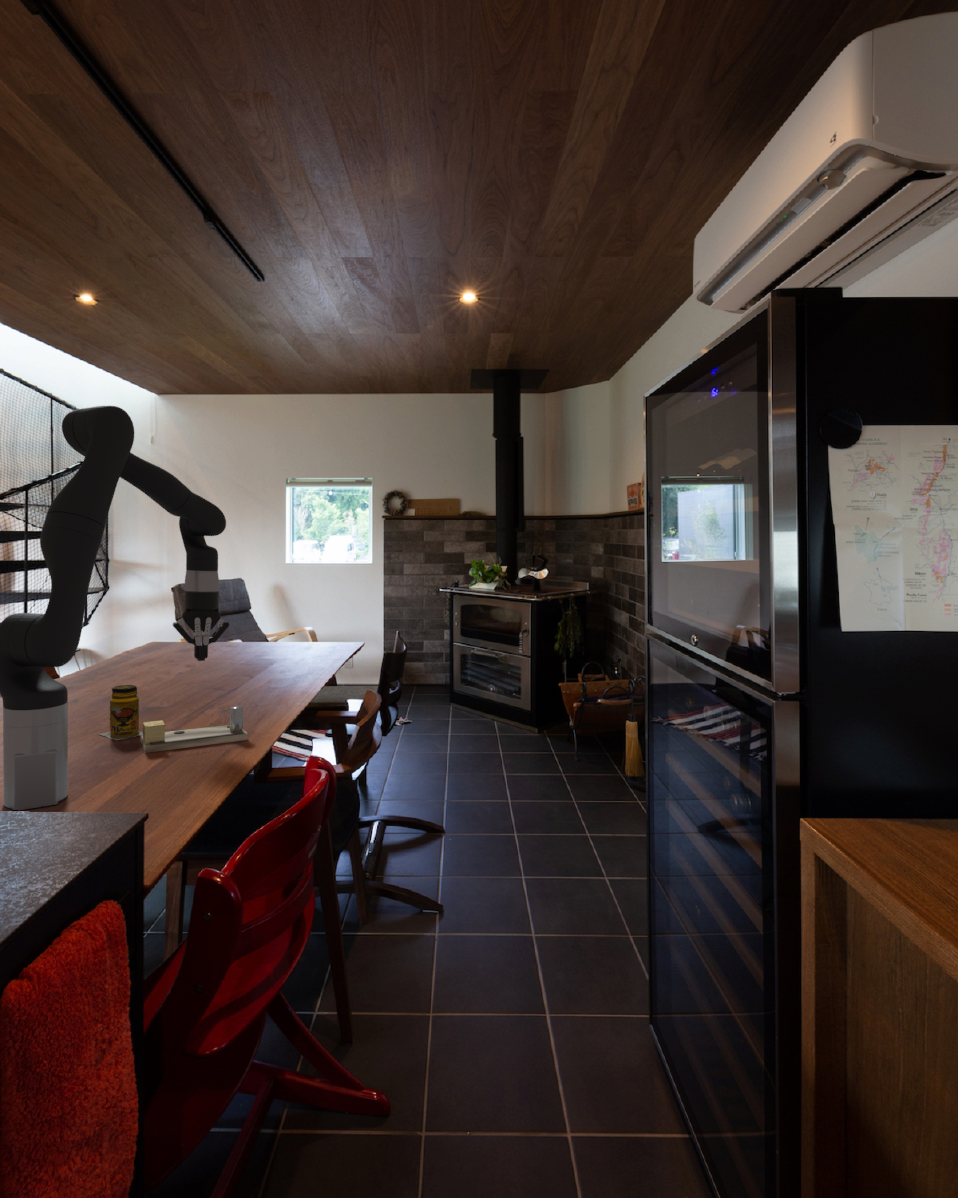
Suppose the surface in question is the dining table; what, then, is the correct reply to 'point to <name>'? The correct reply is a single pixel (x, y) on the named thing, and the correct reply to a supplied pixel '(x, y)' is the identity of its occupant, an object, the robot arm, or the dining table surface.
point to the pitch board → (195, 738)
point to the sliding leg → (153, 732)
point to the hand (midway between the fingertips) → (201, 660)
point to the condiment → (124, 713)
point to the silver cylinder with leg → (236, 719)
